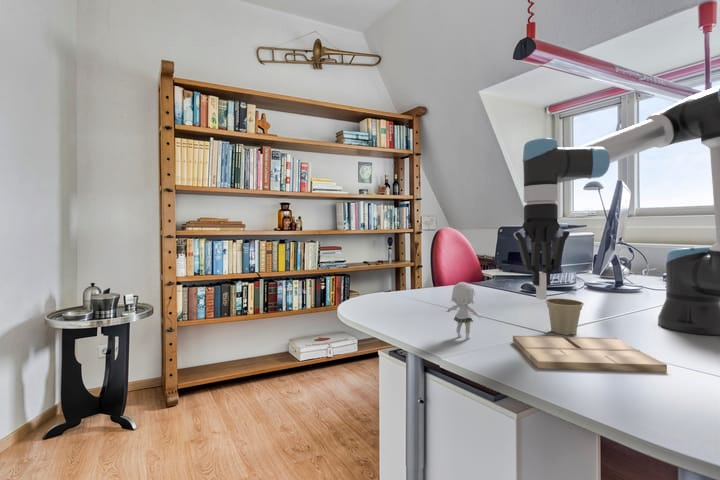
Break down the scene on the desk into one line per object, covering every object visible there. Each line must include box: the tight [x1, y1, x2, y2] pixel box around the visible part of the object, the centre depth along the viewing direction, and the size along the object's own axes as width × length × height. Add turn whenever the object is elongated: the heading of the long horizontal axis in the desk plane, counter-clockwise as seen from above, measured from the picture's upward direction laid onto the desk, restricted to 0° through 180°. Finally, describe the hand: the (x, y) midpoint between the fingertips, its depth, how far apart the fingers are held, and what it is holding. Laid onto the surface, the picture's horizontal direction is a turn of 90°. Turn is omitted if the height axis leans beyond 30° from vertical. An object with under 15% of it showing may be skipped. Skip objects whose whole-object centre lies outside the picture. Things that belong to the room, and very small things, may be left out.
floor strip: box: [523, 347, 668, 373], centre depth 81 cm, size 25×9×2 cm, turn 84°
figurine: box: [445, 281, 482, 340], centre depth 99 cm, size 10×6×15 cm, turn 47°
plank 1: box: [512, 335, 576, 354], centre depth 91 cm, size 12×8×2 cm
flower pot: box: [545, 297, 585, 336], centre depth 104 cm, size 9×9×9 cm
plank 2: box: [565, 336, 637, 350], centre depth 90 cm, size 12×8×2 cm
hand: (541, 298), depth 93 cm, fingers closed
